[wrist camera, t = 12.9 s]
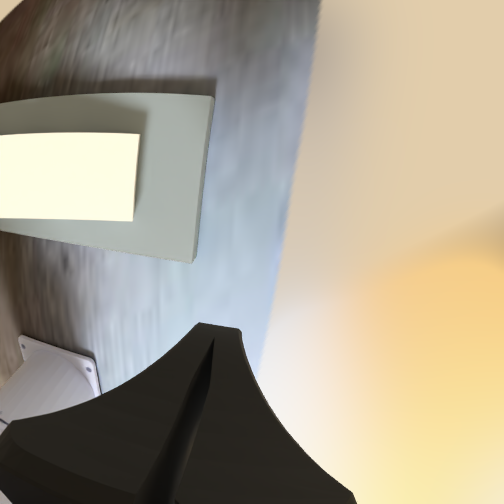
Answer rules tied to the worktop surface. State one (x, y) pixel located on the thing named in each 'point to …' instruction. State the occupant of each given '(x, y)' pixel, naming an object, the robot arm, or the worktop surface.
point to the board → (148, 170)
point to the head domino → (69, 176)
